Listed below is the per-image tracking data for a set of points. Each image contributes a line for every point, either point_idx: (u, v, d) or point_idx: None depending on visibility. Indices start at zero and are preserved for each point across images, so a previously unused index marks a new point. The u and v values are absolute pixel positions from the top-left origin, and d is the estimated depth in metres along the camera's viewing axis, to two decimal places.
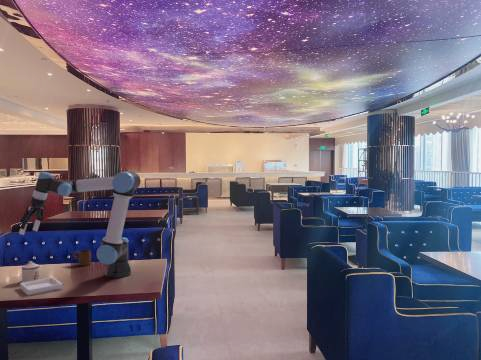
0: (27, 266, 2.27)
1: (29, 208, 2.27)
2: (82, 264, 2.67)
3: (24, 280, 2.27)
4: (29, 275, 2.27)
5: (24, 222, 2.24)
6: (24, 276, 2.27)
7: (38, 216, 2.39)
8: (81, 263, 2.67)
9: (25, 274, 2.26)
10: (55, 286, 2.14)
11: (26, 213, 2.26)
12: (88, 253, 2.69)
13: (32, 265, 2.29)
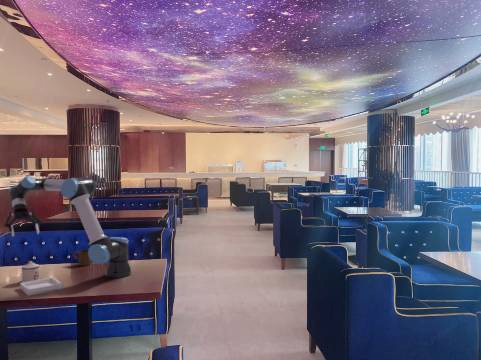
0: (27, 266, 2.27)
1: None
2: (82, 264, 2.67)
3: (24, 280, 2.27)
4: (29, 275, 2.27)
5: (5, 223, 2.36)
6: (24, 276, 2.27)
7: (32, 220, 2.47)
8: (81, 263, 2.67)
9: (25, 274, 2.26)
10: (55, 286, 2.14)
11: (7, 219, 2.40)
12: None
13: (32, 265, 2.29)
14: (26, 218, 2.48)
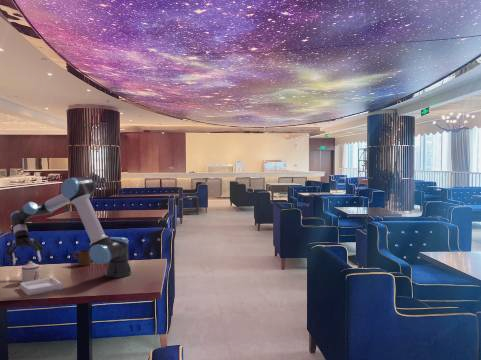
0: (27, 266, 2.27)
1: (10, 242, 2.39)
2: (82, 264, 2.67)
3: (24, 280, 2.27)
4: (29, 275, 2.27)
5: (6, 251, 2.32)
6: (24, 276, 2.27)
7: (34, 247, 2.43)
8: (81, 263, 2.67)
9: (25, 274, 2.26)
10: (55, 286, 2.14)
11: None
12: (88, 253, 2.69)
13: (32, 265, 2.29)
14: (28, 245, 2.44)
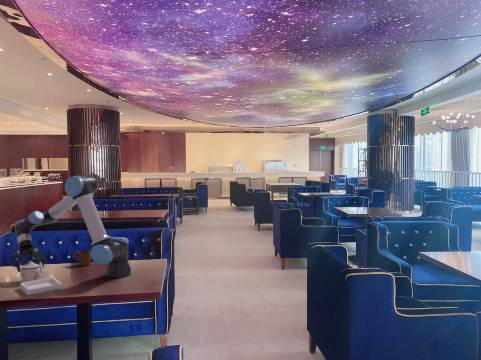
0: (27, 266, 2.27)
1: (14, 253, 2.33)
2: (82, 264, 2.67)
3: (24, 280, 2.27)
4: (29, 275, 2.27)
5: (14, 263, 2.27)
6: (24, 276, 2.27)
7: (36, 258, 2.37)
8: (81, 263, 2.67)
9: (25, 274, 2.26)
10: (55, 286, 2.14)
11: (14, 257, 2.31)
12: (88, 253, 2.69)
13: (32, 265, 2.29)
14: None
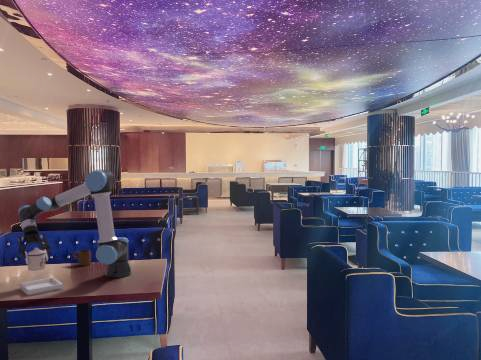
0: (33, 252, 2.16)
1: (18, 239, 2.22)
2: (82, 264, 2.67)
3: (30, 267, 2.16)
4: (35, 262, 2.16)
5: (19, 250, 2.17)
6: (30, 263, 2.16)
7: (41, 245, 2.26)
8: (81, 263, 2.67)
9: (31, 261, 2.16)
10: (55, 286, 2.14)
11: None
12: (88, 253, 2.69)
13: (38, 251, 2.18)
14: None
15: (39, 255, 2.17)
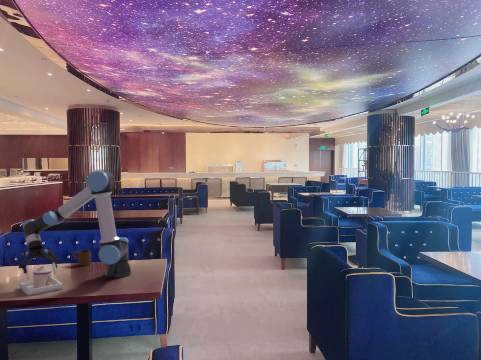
0: (39, 271, 2.13)
1: None
2: (82, 264, 2.67)
3: (36, 286, 2.12)
4: (41, 280, 2.12)
5: (19, 264, 2.12)
6: (36, 282, 2.12)
7: (48, 259, 2.23)
8: (81, 263, 2.67)
9: (37, 280, 2.12)
10: (55, 286, 2.14)
11: None
12: (88, 253, 2.69)
13: (44, 270, 2.14)
14: (42, 256, 2.24)
15: (45, 273, 2.13)
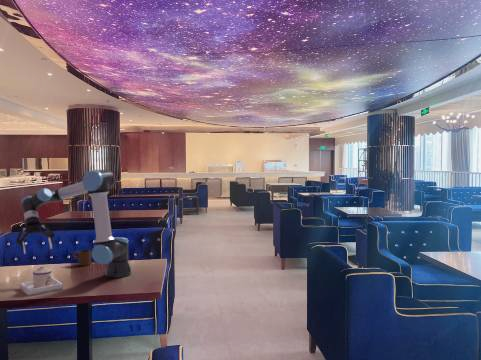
0: (39, 271, 2.13)
1: None
2: (82, 264, 2.67)
3: (35, 286, 2.12)
4: (41, 280, 2.12)
5: (16, 240, 2.26)
6: (35, 282, 2.12)
7: (45, 234, 2.35)
8: (81, 263, 2.67)
9: (37, 280, 2.12)
10: (55, 286, 2.14)
11: None
12: (88, 253, 2.69)
13: (44, 270, 2.14)
14: (39, 231, 2.37)
15: (45, 274, 2.13)
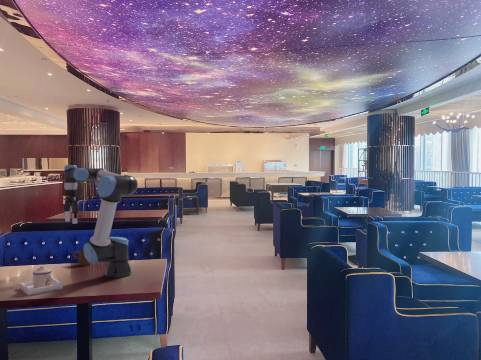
0: (39, 271, 2.13)
1: None
2: (82, 264, 2.67)
3: (35, 286, 2.12)
4: (41, 280, 2.12)
5: None
6: (35, 282, 2.12)
7: None
8: (81, 263, 2.67)
9: (37, 280, 2.12)
10: (55, 286, 2.14)
11: None
12: None
13: (44, 270, 2.14)
14: None
15: (45, 274, 2.13)
